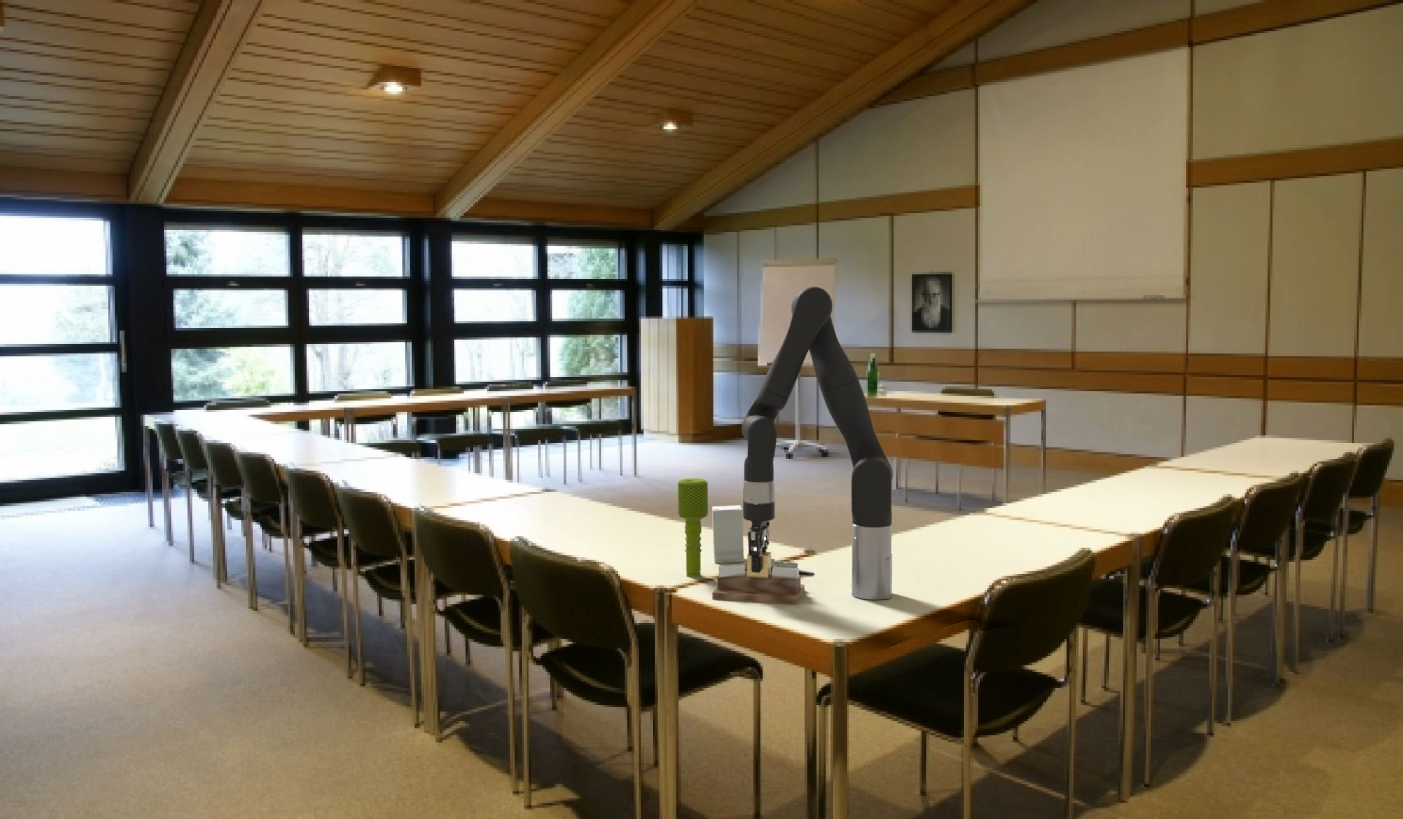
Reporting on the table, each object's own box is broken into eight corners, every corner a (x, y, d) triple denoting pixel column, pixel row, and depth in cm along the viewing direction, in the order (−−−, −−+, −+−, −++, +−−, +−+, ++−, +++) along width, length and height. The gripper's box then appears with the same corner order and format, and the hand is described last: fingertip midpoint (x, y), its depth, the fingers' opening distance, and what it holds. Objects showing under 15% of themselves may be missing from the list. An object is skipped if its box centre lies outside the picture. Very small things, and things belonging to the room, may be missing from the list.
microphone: (702, 580, 255) (701, 482, 253) (674, 577, 258) (673, 480, 255) (712, 572, 263) (712, 477, 260) (685, 570, 265) (684, 475, 263)
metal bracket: (787, 561, 251) (739, 553, 261) (784, 585, 250) (735, 575, 260) (818, 566, 262) (770, 558, 272) (814, 589, 261) (767, 580, 271)
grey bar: (798, 577, 240) (798, 568, 240) (795, 582, 236) (795, 572, 236) (720, 572, 245) (720, 563, 244) (716, 577, 241) (716, 568, 240)
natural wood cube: (747, 577, 240) (747, 554, 240) (750, 573, 244) (750, 551, 243) (768, 578, 239) (767, 556, 238) (771, 574, 243) (771, 552, 242)
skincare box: (742, 557, 278) (742, 504, 277) (744, 563, 272) (744, 508, 271) (712, 558, 278) (711, 505, 277) (713, 563, 272) (712, 509, 271)
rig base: (804, 590, 245) (804, 572, 244) (796, 604, 233) (796, 585, 233) (724, 585, 250) (724, 567, 250) (712, 598, 238) (712, 580, 238)
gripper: (749, 493, 247) (749, 561, 249) (736, 504, 234) (736, 575, 235) (780, 494, 245) (780, 562, 247) (768, 505, 232) (768, 577, 233)
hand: (759, 568), depth 241 cm, fingers open, 6 cm apart
